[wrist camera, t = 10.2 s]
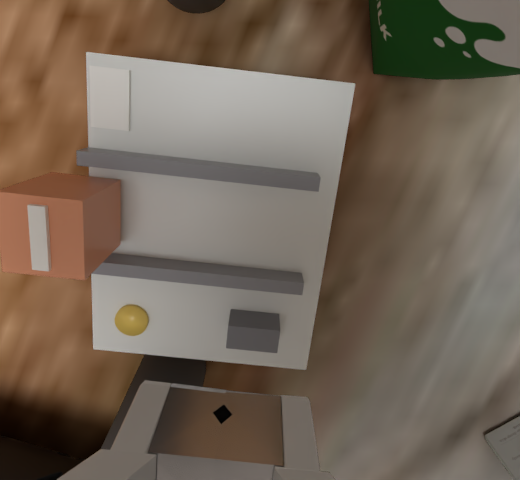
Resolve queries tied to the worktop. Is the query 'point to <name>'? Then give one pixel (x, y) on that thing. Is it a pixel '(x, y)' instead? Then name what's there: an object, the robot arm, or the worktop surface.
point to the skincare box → (507, 446)
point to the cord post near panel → (157, 371)
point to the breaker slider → (59, 225)
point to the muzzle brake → (32, 461)
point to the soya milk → (445, 38)
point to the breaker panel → (213, 207)
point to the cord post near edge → (196, 5)
